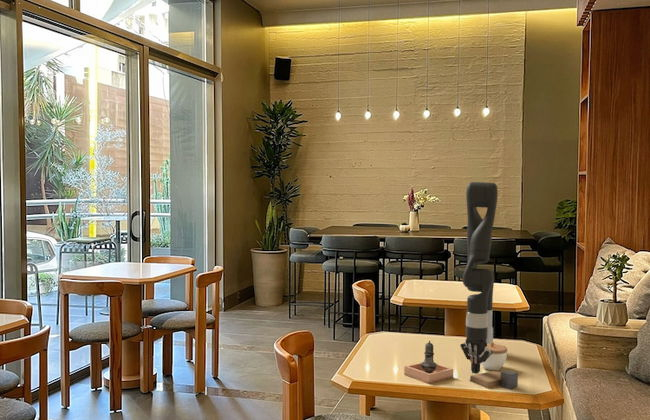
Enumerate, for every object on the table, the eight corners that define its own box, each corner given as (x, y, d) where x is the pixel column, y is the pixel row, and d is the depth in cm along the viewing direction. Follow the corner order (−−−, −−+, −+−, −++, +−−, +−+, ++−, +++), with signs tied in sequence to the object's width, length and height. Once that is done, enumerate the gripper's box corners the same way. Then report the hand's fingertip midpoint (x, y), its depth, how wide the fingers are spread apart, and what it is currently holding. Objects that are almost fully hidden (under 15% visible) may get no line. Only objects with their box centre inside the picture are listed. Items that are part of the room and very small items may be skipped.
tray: (428, 368, 232) (428, 360, 232) (453, 377, 223) (453, 368, 222) (404, 374, 225) (404, 366, 225) (429, 383, 215) (429, 374, 215)
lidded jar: (501, 373, 228) (502, 348, 227) (472, 368, 234) (473, 343, 233) (510, 366, 237) (510, 341, 236) (482, 361, 243) (482, 337, 242)
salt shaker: (425, 377, 220) (426, 343, 220) (417, 372, 226) (418, 339, 225) (440, 375, 222) (441, 341, 222) (431, 371, 228) (432, 337, 227)
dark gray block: (507, 384, 216) (508, 369, 216) (517, 387, 213) (518, 372, 213) (500, 386, 214) (500, 371, 214) (510, 389, 211) (510, 374, 210)
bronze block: (495, 377, 225) (495, 370, 225) (512, 384, 218) (512, 376, 218) (470, 382, 219) (470, 375, 218) (487, 389, 212) (487, 382, 212)
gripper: (498, 327, 222) (497, 375, 223) (468, 319, 232) (467, 366, 233) (485, 329, 217) (483, 379, 218) (455, 322, 227) (453, 370, 228)
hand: (475, 372), depth 225 cm, fingers closed
